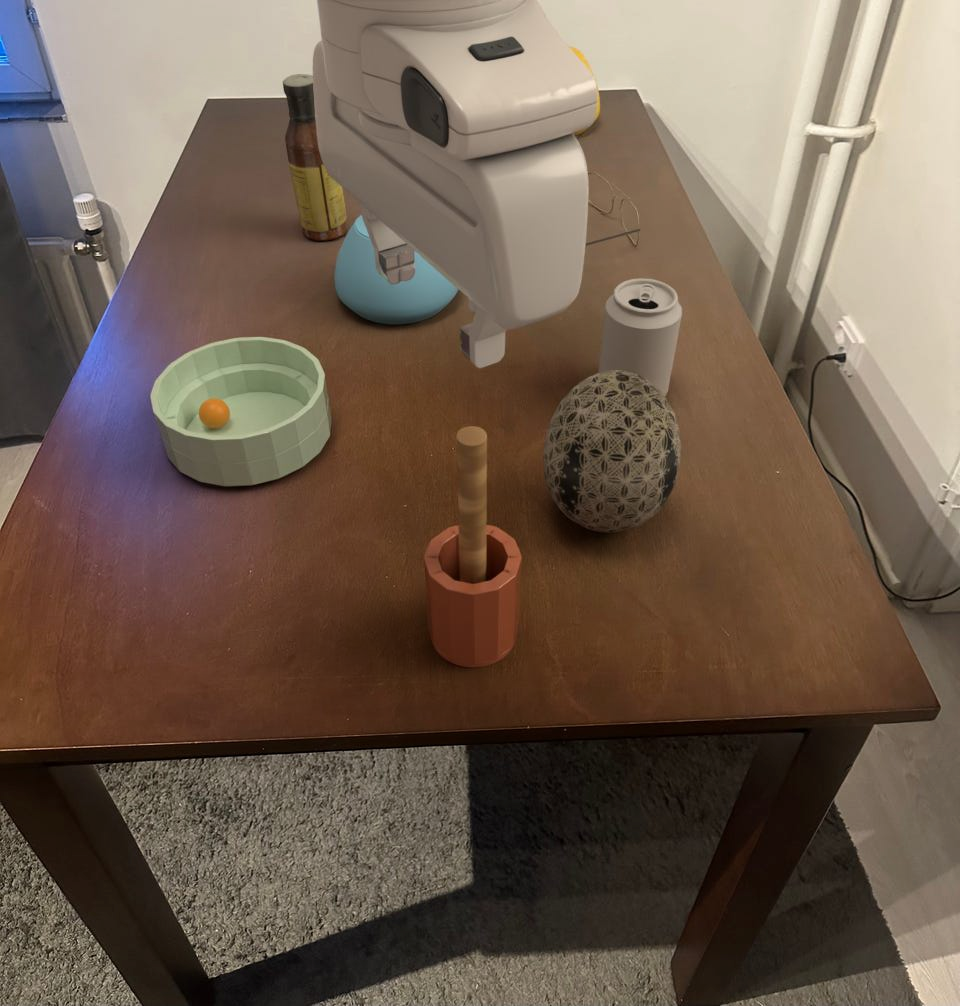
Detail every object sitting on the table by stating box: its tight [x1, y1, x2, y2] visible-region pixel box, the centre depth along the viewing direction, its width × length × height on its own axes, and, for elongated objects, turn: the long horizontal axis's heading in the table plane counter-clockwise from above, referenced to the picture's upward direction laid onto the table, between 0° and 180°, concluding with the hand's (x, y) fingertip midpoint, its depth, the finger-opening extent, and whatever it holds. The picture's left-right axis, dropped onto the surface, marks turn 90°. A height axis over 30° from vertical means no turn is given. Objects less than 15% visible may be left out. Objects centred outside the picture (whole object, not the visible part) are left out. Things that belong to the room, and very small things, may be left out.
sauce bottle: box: [282, 73, 348, 242], centre depth 113 cm, size 7×6×20 cm
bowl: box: [149, 336, 333, 487], centre depth 87 cm, size 16×16×6 cm
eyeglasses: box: [585, 171, 641, 247], centre depth 118 cm, size 16×15×5 cm
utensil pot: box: [423, 524, 523, 668], centre depth 69 cm, size 7×7×9 cm
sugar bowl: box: [333, 214, 459, 325], centre depth 104 cm, size 15×15×12 cm
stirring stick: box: [455, 425, 488, 584], centre depth 64 cm, size 2×2×20 cm
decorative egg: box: [542, 370, 682, 534], centre depth 76 cm, size 12×12×15 cm
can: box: [597, 277, 683, 397], centre depth 90 cm, size 8×8×12 cm
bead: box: [199, 398, 230, 429], centre depth 88 cm, size 3×3×3 cm
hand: (436, 315), depth 48 cm, fingers open, 8 cm apart
